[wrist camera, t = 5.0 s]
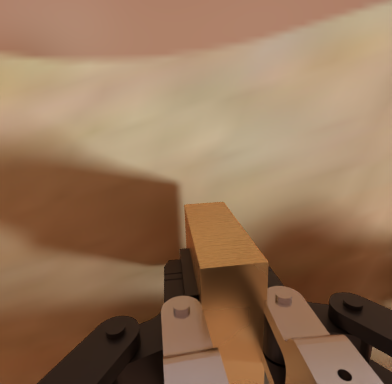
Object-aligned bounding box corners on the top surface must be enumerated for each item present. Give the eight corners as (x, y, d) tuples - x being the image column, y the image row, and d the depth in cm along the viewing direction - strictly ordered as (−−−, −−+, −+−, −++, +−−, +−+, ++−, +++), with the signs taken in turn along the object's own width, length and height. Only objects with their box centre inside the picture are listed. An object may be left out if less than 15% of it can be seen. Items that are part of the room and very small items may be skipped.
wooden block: (223, 201, 13) (268, 261, 8) (224, 287, 15) (263, 393, 9) (184, 204, 13) (200, 268, 7) (188, 291, 15) (205, 402, 9)
